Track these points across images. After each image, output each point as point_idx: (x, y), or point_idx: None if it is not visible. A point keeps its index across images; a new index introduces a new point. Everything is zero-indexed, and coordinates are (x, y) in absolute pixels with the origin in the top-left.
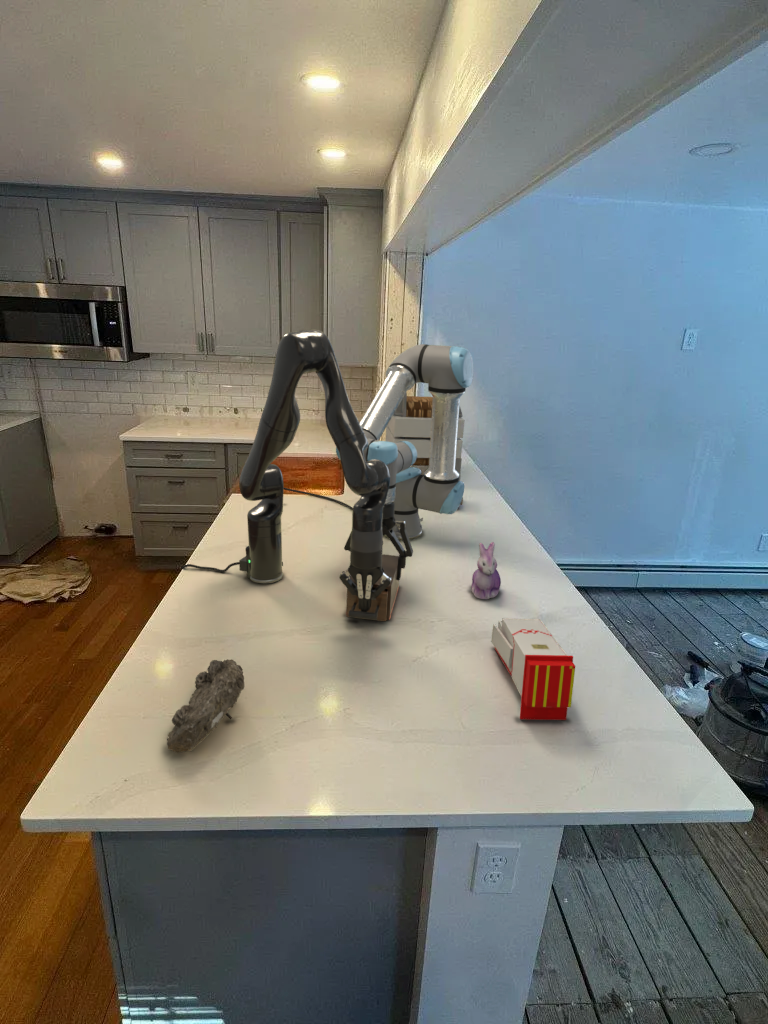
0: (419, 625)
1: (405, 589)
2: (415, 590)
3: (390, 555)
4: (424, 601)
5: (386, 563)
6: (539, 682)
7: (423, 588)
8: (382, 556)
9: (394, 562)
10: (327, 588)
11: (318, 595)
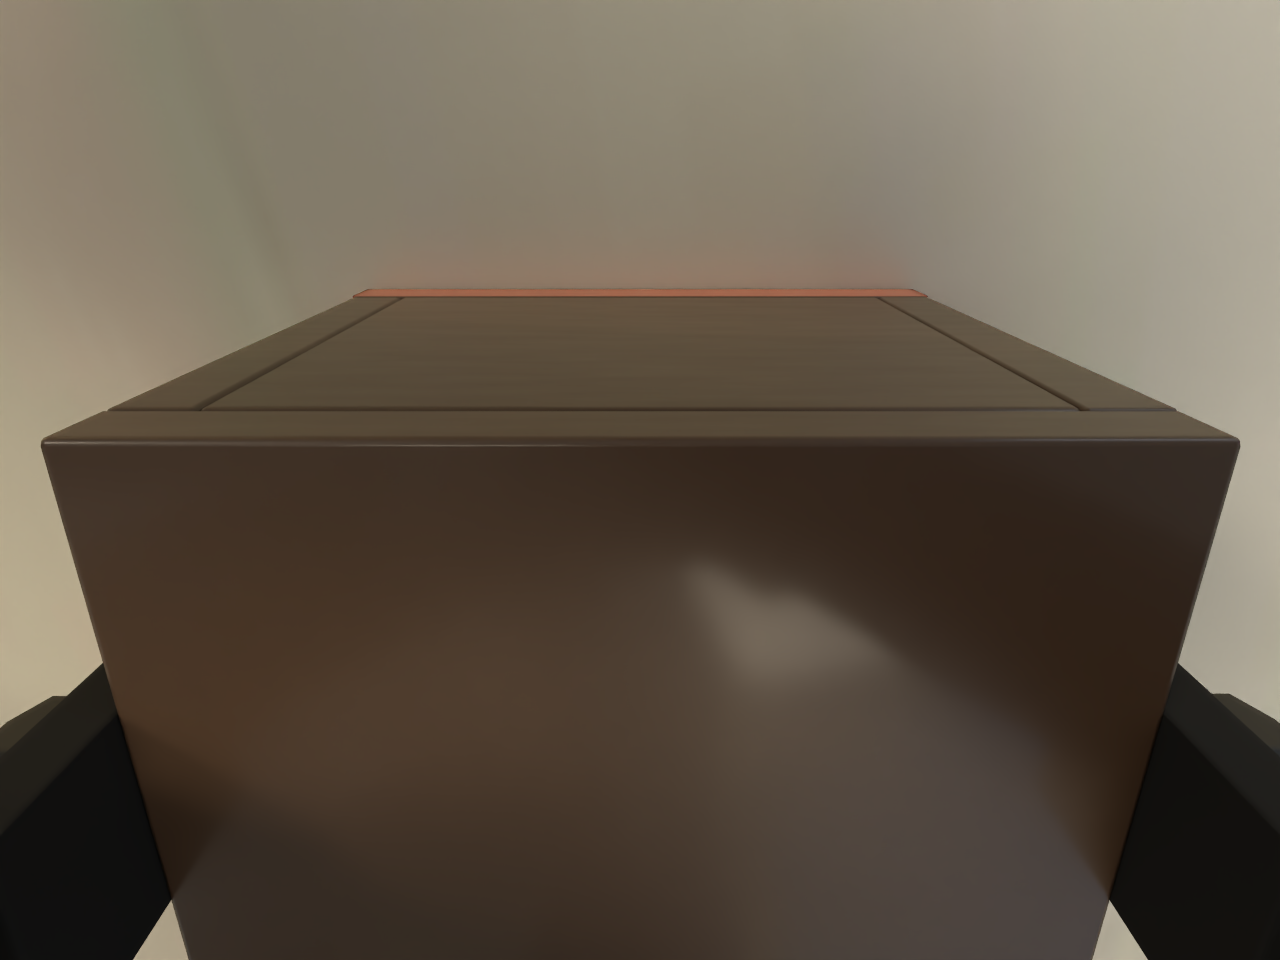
0: (1094, 953)
1: (1003, 325)
2: (1138, 322)
3: (940, 467)
4: (1212, 568)
5: (851, 902)
6: None
7: (1262, 235)
8: (715, 585)
9: (1039, 819)
10: (39, 521)
11: (33, 686)
